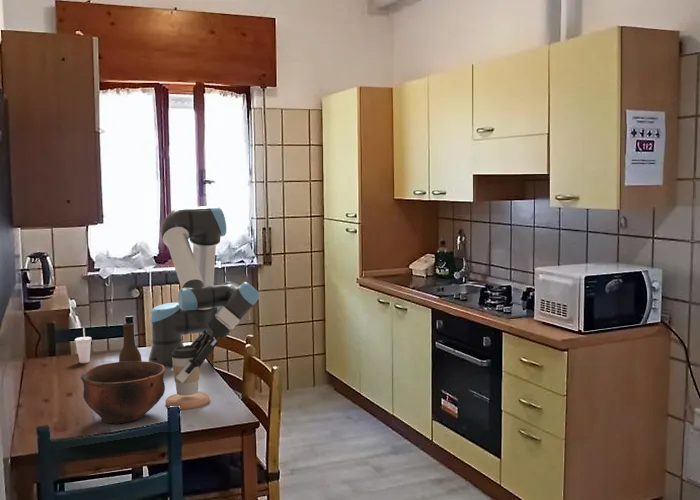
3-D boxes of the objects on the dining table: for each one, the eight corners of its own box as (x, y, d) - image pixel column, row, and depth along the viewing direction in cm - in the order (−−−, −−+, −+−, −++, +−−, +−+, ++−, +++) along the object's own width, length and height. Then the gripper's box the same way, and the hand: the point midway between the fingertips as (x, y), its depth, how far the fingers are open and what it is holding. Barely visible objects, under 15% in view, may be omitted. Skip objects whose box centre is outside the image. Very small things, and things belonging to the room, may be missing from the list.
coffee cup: (194, 397, 235) (192, 351, 234) (168, 396, 237) (166, 350, 235) (205, 388, 244) (203, 344, 242) (180, 387, 246) (178, 343, 244)
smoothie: (89, 363, 294) (87, 329, 292) (73, 364, 294) (71, 329, 292) (95, 359, 300) (93, 326, 299) (79, 360, 300) (77, 326, 299)
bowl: (160, 429, 216) (157, 379, 214) (73, 434, 214) (70, 383, 212) (173, 403, 240) (171, 358, 239) (96, 407, 239) (93, 361, 237)
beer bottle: (136, 386, 260) (132, 320, 257) (147, 391, 254) (144, 323, 252) (116, 392, 255) (112, 323, 252) (127, 396, 249) (123, 327, 246)
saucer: (167, 397, 247) (167, 393, 246) (210, 394, 249) (210, 390, 249) (163, 410, 233) (163, 406, 233) (208, 407, 235) (208, 403, 235)
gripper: (239, 336, 234) (191, 392, 230) (223, 324, 254) (179, 374, 250) (221, 322, 232) (173, 378, 227) (207, 310, 252) (162, 361, 247)
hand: (176, 376), depth 239 cm, fingers closed on coffee cup, 9 cm apart
